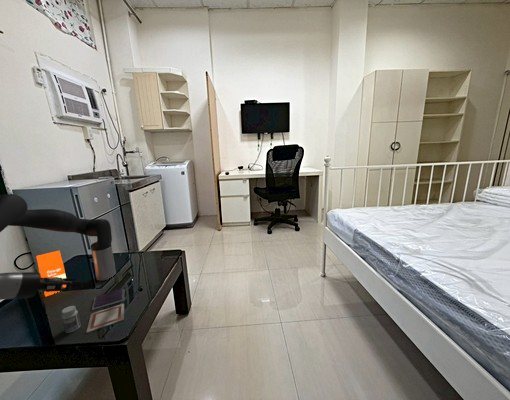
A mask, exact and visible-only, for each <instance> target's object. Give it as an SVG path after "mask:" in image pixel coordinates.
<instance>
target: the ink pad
mask: <svg viewBox="0 0 510 400" xmlns="http://www.w3.org/2000/svg"><path fill="white" fill-rule="evenodd" d="M124 301H125V288H119V289H117V290H112V291H109V292H106V293H103V294H98V295H96V296H94V299H93V302H92V307H91V311H95V310H99V309H102V308H105V307H107V306H111V305H115V304H118V303H121V302H124Z"/></svg>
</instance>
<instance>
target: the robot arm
mask: <svg viewBox="0 0 510 400" xmlns="http://www.w3.org/2000/svg"><path fill="white" fill-rule="evenodd" d="M110 223H111V222H110V221H109V220H108V219H106V218H99V219H98V218H95V219H94V218H93V219H91V218H89V219H87V218H79V217H78V216H76V214H74V213H71V212H68V211H64V210H60V209H54V208H52V209H51V208H42V209H28V203H27V201H26V200H25V199H24V197H22V196H20V195H18V194H14V193H5V194H1V195H0V233H2V232H3V230H5V229H6V228H8V227H11V226H12V227H25V228H33V229H37V230H38V229H39V230H47V231H52V232H61V233H76V234H80V235H84V236H88V237H96V238H97V241H95V242H92V243H91V245H90V251H91V255H92V262H93V266H94V271H95V278H96V280H97V281H98V280H99V281H100V282H102V281H107V280H110V279H112V278H114V277H115V276H116V275H117V271H116V263H115V259H114V251H113V247H112V246H113V245H112V242H113V237H112V227H111V224H110ZM115 274H116V275H115ZM114 275H115V276H114ZM113 276H114V277H113ZM111 277H112V278H111ZM109 278H110V279H109ZM63 285H66V288H65V287H63ZM84 286H85V281H84V280H82V281H79V280H78V281H76V278H75V277H71V278H70V277H66V278H63V279H62V278H59V277H45V278H41V274H40V272H39V271H38V272H37V271H36V272H34V271H33V272H29V271H28V272H24V271H23V272H21V271H20V272H19V271H18V272H2V273H0V301H1V300H15V299H26V298H27V299H28V298H33V297H34V296H35V295H36V294H37V292H38V291H40V290H41V291H43V292H44V291H45V292H52V291H61V292H68V291H70V290H71V289H72V290H75V289H76V290H77V289H83V288H84Z"/></svg>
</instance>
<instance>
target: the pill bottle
mask: <svg viewBox="0 0 510 400" xmlns="http://www.w3.org/2000/svg"><path fill="white" fill-rule="evenodd" d="M76 307H77V306H76V305H69V306H67V307H65V308H63V309H62V310H61V320H62V324H63V329H64V330H63V331H64V332H65V333H67V334H68V333H70V334H71V333H73V332H75V331H77V330H78V329H79V328H80V327H81V320H80V315H79V312H78V310H77V308H76Z"/></svg>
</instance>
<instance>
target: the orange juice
mask: <svg viewBox="0 0 510 400" xmlns="http://www.w3.org/2000/svg"><path fill="white" fill-rule="evenodd" d="M36 262H37V266H38V272H39V273H40V274H41V278H45V277H59V278H62V279H63V278H67V276H66V271H65V265H64V262H63V259H62V254H61V250H56V251H51V252H46V253H43V254H39V255H36ZM63 287H65V288H66V285H63ZM57 292H58V293H61V292H60V291H52V292H45V291H44V290H43V293H44V297H48V296H51V295H54V293H55V294H57Z"/></svg>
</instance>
